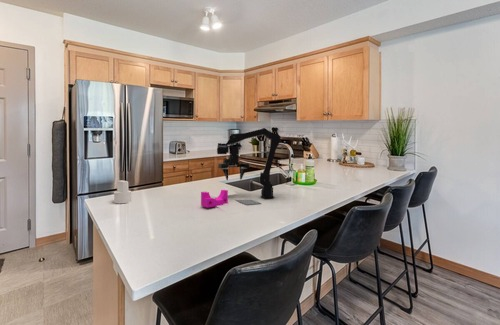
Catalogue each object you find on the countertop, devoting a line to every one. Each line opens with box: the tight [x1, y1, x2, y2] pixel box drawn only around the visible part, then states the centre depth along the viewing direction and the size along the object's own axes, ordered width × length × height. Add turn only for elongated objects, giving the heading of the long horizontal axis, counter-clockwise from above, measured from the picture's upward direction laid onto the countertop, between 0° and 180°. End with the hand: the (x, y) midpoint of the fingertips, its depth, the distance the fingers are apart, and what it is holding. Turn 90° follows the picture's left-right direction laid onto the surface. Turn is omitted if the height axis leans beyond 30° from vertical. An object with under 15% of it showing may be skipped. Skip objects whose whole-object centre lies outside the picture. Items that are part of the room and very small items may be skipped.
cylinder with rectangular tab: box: [113, 180, 132, 204], centre depth 153 cm, size 9×9×12 cm
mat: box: [235, 199, 262, 206], centre depth 154 cm, size 9×18×1 cm, turn 28°
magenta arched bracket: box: [200, 189, 229, 209], centre depth 146 cm, size 15×6×8 cm, turn 130°
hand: (234, 179), depth 164 cm, fingers open, 9 cm apart
